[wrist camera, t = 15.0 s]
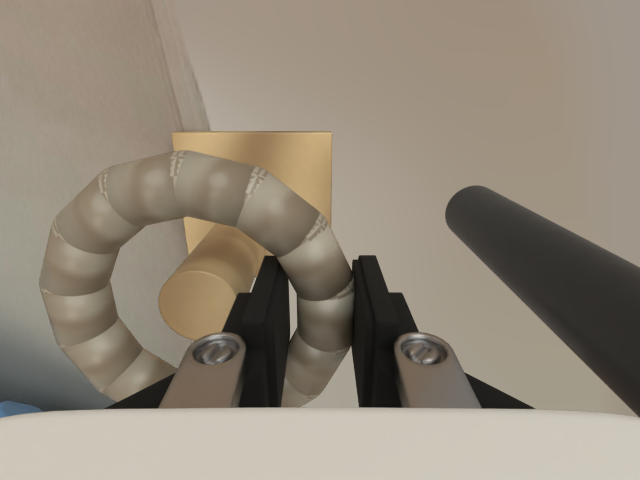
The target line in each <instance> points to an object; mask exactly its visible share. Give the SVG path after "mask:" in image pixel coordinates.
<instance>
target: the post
mask: <svg viewBox="0 0 640 480" xmlns="http://www.w3.org/2000/svg"><path fill="white" fill-rule="evenodd" d="M171 135H172V142H173V149H174V151H180V150H189V151H195V152H199V153H203V154H207V155H211V156H216V157H220V158H224V159H228V160H232V161H237V162H241V163H245V164H249V165H253V166H257V167H260V168H263V169H265V170H266V171H268V172H270V173H271V174H272V175H274V176H275V177H276V178H277V179H279V180H280V181H281V182H282V183H284V184H285V185H286V186H288V187H289V188H290V189H291V190H293V191H294V192H295V193H296V194H298V195H299V196H300V197H302V198H303V199H304V200H305V201H307V202H308V203H309V204H310V205H312V206H313V207H314V208H316V209H317V210H318V211H319V212H320V213H321V214H322V215H323V216H324V217H325V218H326V220H327V221H328V223H329V225H330V227H331V186H332V132H331V131H178V132H173V133H172V134H171ZM183 220H184V227H185V234H186V241H187V248H188V255H189V256H188V257H187V258H186V259H185V260H184V262H183V263H182V264H181V265H180V266H179V267H178V269H177V270H176V271H175V272H174V273H173V274H172V276H171V277H170V278H169V279H168V280H167V281H166V283H165V284H164V285H163V287H162V289H161V291H160V294H159V309H160V313H161V315H162V317H163V319H164V321H165V322H166V323H167V325H168V326H169V327H170V328H171V329H172V330H174V331H175V332H176V333H178V334H179V335H181V336H183V337H186V338H188V339H192V340H197V339H199V338H201V337H203V336H205V335H209V334H212V333H219V332H222V329H223V327H224V325H225V322H226V320H227V318H228V315H229V313H230V311H231V308H232V306H233V303H234V301H235V299H236V296H237V294H238V293H249V291H250V288H251V286H252V283H253V280H254V278H255V277H257V275H258V273H259V270H260V267H261V264H262V261H263V259H264V256H265V255H273V254H272V253H270V252H269V251H268V250H266V249H265V248H264V247H262V246H261V245H259V244H258V243H257V242H255V241H254V240H253V239H251V238H250V237H248V236H247V235H246V234H244V233H243V232H242V231H240V230H239V229H237V228H236V227H231V226H227V225H222V224H218V223H214V222H209V221H205V220H200V219H196V218H192V217H183Z"/></svg>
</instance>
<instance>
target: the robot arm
mask: <svg viewBox="0 0 640 480" xmlns="http://www.w3.org/2000/svg"><path fill="white" fill-rule="evenodd" d="M352 273H353V275H354V279H355V297H354V321H353V341H352V344H351V347H352V355H353V363H354V370H355V378H356V386H357V394H358V402H359V408H327V407H325V408H324V407H322V408H321V407H315V408H281V403H282V395H283V387H284V380H285V372H286V364H287V356H288V344H289V340H290V312H289V283H288V277H287V275H286V273H285V271H284V270H283V268H282V266H281V264H280V263H279V261H278V259H277V257H276V256H274V255H265V256H264V259H263V261H262V264H261V267H260V270H259V273H258V275H257V278H256V281H255V284H254V287H253V289H252V292H251V293H238V294H237V296H236V299H235V301H234V303H233V306H232V308H231V311H230V313H229V315H228V318H227V320H226V322H225V325H224V327H223V329H222V332H219V333H212V334H209V335H205V336H203V337H201V338H199V339H197V340H196V341H195V342H193V343H192V344H191V345H190V347H189V348H188V349H187V351H186V353H185V355H184V357H183V359H182V361H181V363H180V365H179V367H178V369H177V371H176V373H174V374H172V375H170V376H168V377H166V378H164V379H162V380H160V381H158V382H156V383H154V384H152V385H150V386H148V387H146V388H144V389H142V390H140V391H138V392H137V393H135V394H133V395H131V396H129V397H127V398H125V399H123V400H121V401H119V402H117V403H115V404H113V405H111V406H109V407H107V408H105V409H94V410H67V411H47V412H37V413H27V414H19V415H13V416H8V417H2V418H0V480H640V418H638V417H632V416H627V415H621V414H613V413H603V412H593V411H573V410H545V409H535V408H533V407H531V406H529V405H527V404H525V403H523V402H521V401H519V400H517V399H515V398H513V397H511V396H509V395H508V394H506V393H504V392H502V391H500V390H498V389H496V388H494V387H492V386H490V385H488V384H486V383H484V382H482V381H480V380H478V379H476V378H474V377H472V376H470V375H468V374H466V373H464V371H463V369H462V367H461V365H460V363H459V361H458V359H457V357H456V355H455V353H454V351H453V349H452V348H451V347H450V345H449V344H448V343H447V342H445V341H444V340H443V339H441V338H439V337H437V336H435V335H431V334H428V333H421V332H419V331H418V329H417V327H416V324H415V322H414V320H413V317H412V315H411V313H410V310H409V308H408V305H407V303H406V301H405V298H404V296H403V294H402V293H389V292H388V289H387V286H386V283H385V281H384V278H383V275H382V272H381V269H380V267H379V264H378V261H377V258H376V256H375V255H360V256H359V258H358V260H353V262H352Z"/></svg>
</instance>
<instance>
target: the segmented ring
mask: <svg viewBox="0 0 640 480" xmlns="http://www.w3.org/2000/svg"><path fill="white" fill-rule="evenodd" d="M183 217H192V218H196V219H200V220H205V221H209V222H214V223H218V224H222V225H227V226H231V227H236V228H237V229H239V230H240V231H242V232H243V233H244V234H246V235H247V236H248V237H250V238H251V239H253V240H254V241H255V242H257V243H258V244H259V245H261V246H262V247H264V248H265V249H266V250H268V251H269V252H270V253H272V254H273V255H274V256H276V257H277V259H278V261H279V263H280V264H281V266H282V268H283V270H284V271H285V273H286V275H287V277H288V279H289V280H290V282H291V284H292V286H293V288H294V289H295V291H296V293H297V329H296V331H295V332H294V334H293V336H292V338H291V340H290V341H289V344H288V356H287V364H286V372H285V380H284V387H283V395H282V403H281V408H299V407H301V406H303V405H304V404H306V403H308V402H309V401H311V400H313V399H314V398H316V397H317V396H318V395H320V393H321V392H322V391H323V390H324V388H325V387H326V385H327V384H328V382H329V381H330V379H331V377H332V376H333V374H334V373H335V371H336V370H337V368H338V366H339V365H340V363H341V362H342V360H343V358H344V357H345V355H346V354H347V352H348V351H349V349H350V347H351V344H352V341H353V321H354V297H355V279H354V275H353V273H352V270H351V269H350V266H349V264H348V262H347V260H346V258H345V256H344V254H343V252H342V250H341V248H340V246H339V244H338V242H337V240H336V238H335V236H334V234H333V231H332V229H331V227H330V225H329V223H328V221H327V220H326V218H325V217H324V216H323V215H322V214H321V213H320V212H319V211H318V210H317V209H316V208H314V207H313V206H312V205H310V204H309V203H308V202H307V201H305V200H304V199H303V198H302V197H300V196H299V195H298V194H296V193H295V192H294V191H293V190H291V189H290V188H289V187H288V186H286V185H285V184H284V183H282V182H281V181H280V180H279V179H277V178H276V177H275V176H274V175H272V174H271V173H270V172H268V171H266V170H265V169H263V168H260V167H257V166H253V165H249V164H245V163H241V162H237V161H232V160H228V159H224V158H220V157H216V156H211V155H207V154H203V153H199V152H195V151H189V150H180V151H174V152H170V153H165V154H161V155H157V156H153V157H148V158H144V159H140V160H135V161H131V162H127V163H122V164H118V165H114V166H111V167H109V168H107V169H105V170H104V171H102V172H101V173H100V174H99V175H98V176H97V177H96V178H95V179H94V180H93V181H91V182H90V183H89V184H88V185H87V186H86V187H85V188H84V189H83V190H82V191H81V192H80V193H79V194H78V195H77V196H76V197H75V198H74V199H73V200H72V201H71V202H70V203H69V204H68V205H67V206H65V207H64V208H63V209H62V210H61V211H60V212H59V213H58V215H57V216H56V217H55V219H54V221H53V224H52V226H51V230H50V234H49V239H48V243H47V248H46V252H45V256H44V261H43V265H42V270H41V274H40V280H39V285H40V290H41V294H42V297H43V300H44V304H45V307H46V310H47V313H48V317H49V320H50V323H51V326H52V330H53V333H54V336H55V340H56V342H57V344H58V346H59V347H60V348H61V350H62V351H63V352H64V353H65V354H66V355H67V356H68V358H69V359H70V360H71V361H72V362H73V363H74V365H75V366H76V367H77V368H78V369H79V370H80V372H81V373H82V374H83V375H84V376H85V377H86V378H87V380H88V381H89V382H90V383H91V384H92V385H93V387H94V388H95V389H96V390H97V391H99V392H100V393H101V394H103V395H105V396H106V397H108V398H110V399H112V400H113V401H115V402H119V401H121V400H123V399H125V398H127V397H129V396H131V395H133V394H135V393H137V392H138V391H140V390H142V389H144V388H146V387H148V386H150V385H152V384H154V383H156V382H158V381H160V380H162V379H164V378H166V377H168V376H170V375H172V374H174V373H176V371H177V368H175V367H174V366H172V365H170V364H169V363H167V362H165V361H164V360H162V359H161V358H159V357H157V356H156V355H154V354H152V353H151V352H149V351H147V350H146V349H144V348H142V346H141V345H140V344H139V342H138V341H137V340H136V339H135V337H134V336H133V335H132V333H131V332H130V331H129V329H128V328H127V327H126V326H125V324H124V323H123V322H122V320H121V319H120V318H119V316H118V314H117V309H116V305H115V300H114V296H113V292H112V287H111V283H110V278H111V275H112V272H113V269H114V265H115V262H116V259H117V256H118V252H119V249H120V248H121V247H122V246H123V245H124V244H125V243H126V242H127V241H129V240H130V239H131V238H132V237H133V236H134V235H136V234H137V233H138V232H139V231H140V230H141V229H142V228H144V227H145V226H146V225H150V224H155V223H160V222H164V221H169V220H174V219H179V218H183Z"/></svg>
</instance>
